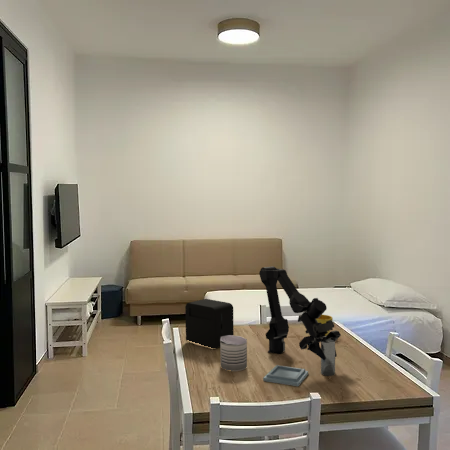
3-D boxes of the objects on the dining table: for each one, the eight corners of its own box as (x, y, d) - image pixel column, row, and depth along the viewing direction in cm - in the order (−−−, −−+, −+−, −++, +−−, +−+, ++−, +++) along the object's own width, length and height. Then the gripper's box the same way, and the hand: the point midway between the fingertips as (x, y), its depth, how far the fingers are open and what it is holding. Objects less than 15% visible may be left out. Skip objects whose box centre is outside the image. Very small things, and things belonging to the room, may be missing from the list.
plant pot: (334, 338, 243) (334, 319, 243) (313, 338, 243) (313, 319, 243) (330, 332, 254) (330, 314, 253) (310, 332, 254) (310, 314, 253)
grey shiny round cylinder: (319, 374, 194) (319, 342, 193) (322, 370, 199) (322, 338, 198) (333, 376, 191) (333, 344, 191) (336, 372, 196) (336, 340, 196)
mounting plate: (263, 380, 188) (263, 375, 188) (275, 369, 200) (275, 363, 200) (298, 386, 182) (298, 380, 182) (308, 374, 194) (308, 368, 194)
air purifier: (235, 343, 236) (235, 302, 235) (215, 350, 226) (215, 308, 224) (206, 336, 250) (205, 297, 249) (185, 342, 239) (185, 302, 238)
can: (233, 360, 212) (233, 333, 211) (252, 366, 204) (252, 338, 203) (214, 366, 204) (214, 338, 203) (233, 373, 196) (233, 344, 195)
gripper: (303, 317, 192) (323, 352, 184) (337, 311, 202) (357, 343, 193) (291, 332, 199) (309, 366, 191) (324, 325, 209) (343, 357, 201)
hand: (330, 358), depth 194 cm, fingers closed on grey shiny round cylinder, 6 cm apart
